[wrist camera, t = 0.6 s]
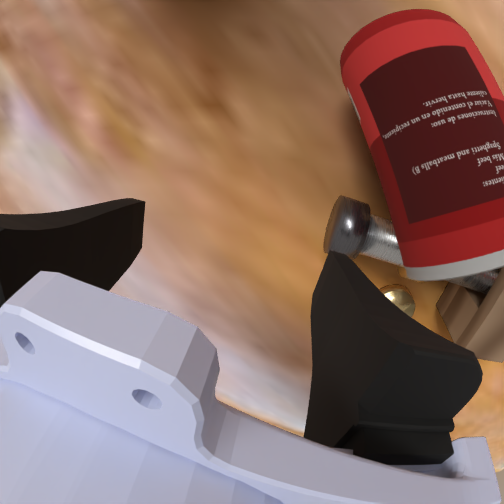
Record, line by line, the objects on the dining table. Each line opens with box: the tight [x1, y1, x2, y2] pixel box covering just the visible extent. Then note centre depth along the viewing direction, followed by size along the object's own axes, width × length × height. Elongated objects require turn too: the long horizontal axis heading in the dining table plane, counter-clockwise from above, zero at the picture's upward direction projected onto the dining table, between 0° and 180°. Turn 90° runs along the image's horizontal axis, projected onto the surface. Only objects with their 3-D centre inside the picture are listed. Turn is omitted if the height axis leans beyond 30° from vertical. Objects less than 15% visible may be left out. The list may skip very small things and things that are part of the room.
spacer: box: [379, 285, 415, 317], centre depth 23 cm, size 4×4×1 cm
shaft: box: [324, 195, 502, 294], centre depth 18 cm, size 13×4×4 cm, turn 77°
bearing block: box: [436, 267, 504, 363], centre depth 18 cm, size 5×10×6 cm, turn 167°
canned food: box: [340, 9, 504, 281], centre depth 12 cm, size 8×8×11 cm
